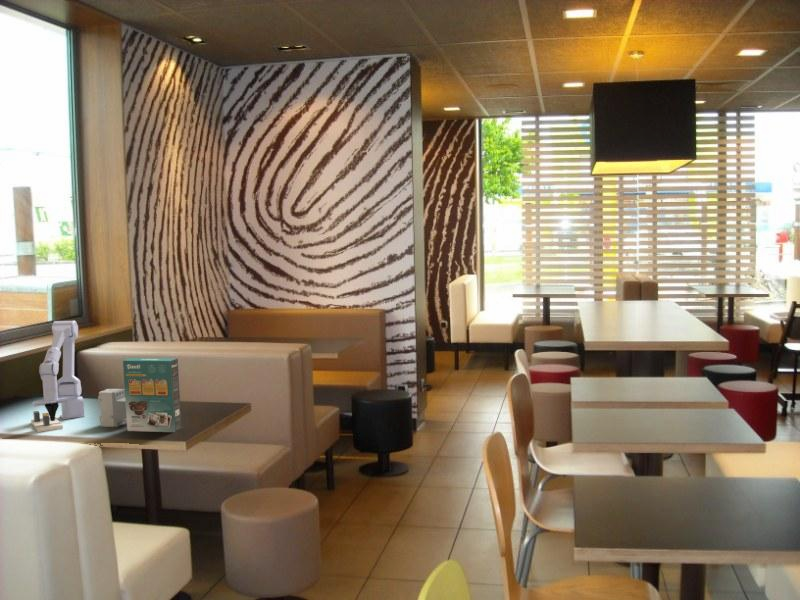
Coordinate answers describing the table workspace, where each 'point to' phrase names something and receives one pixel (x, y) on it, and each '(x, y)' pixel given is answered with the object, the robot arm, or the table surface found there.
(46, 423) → the breaker handle
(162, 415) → the cake mix box
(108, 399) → the circuit breaker
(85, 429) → the table surface
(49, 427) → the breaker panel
